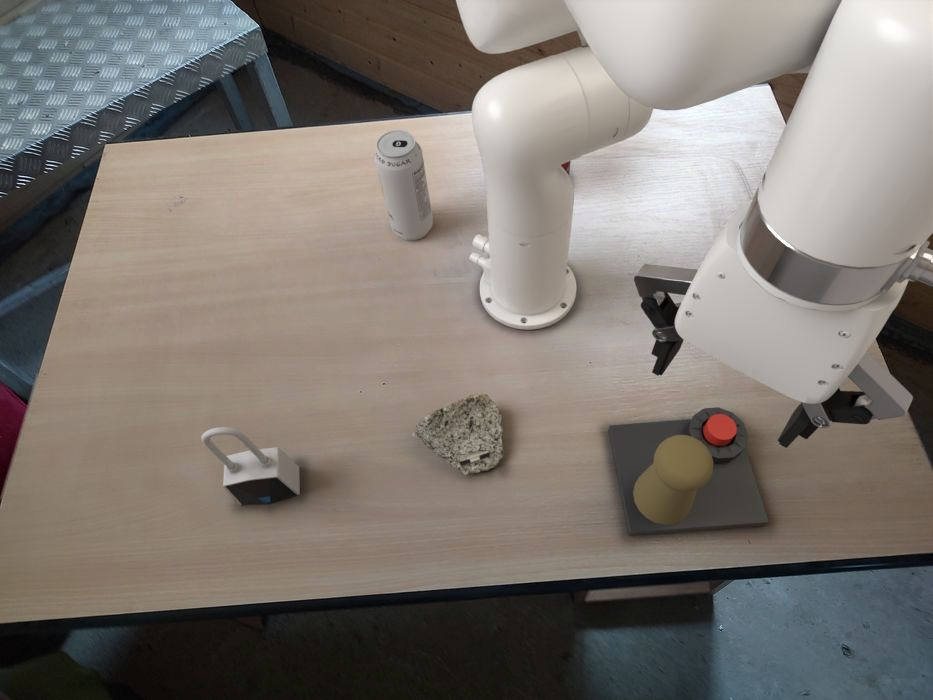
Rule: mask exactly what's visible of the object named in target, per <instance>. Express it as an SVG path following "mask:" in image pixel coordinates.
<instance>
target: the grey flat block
mask: <svg viewBox="0 0 933 700" xmlns="http://www.w3.org/2000/svg"><path fill="white" fill-rule="evenodd" d="M716 414H723V415H726V416H728V417H730V418H731V419H732V420H733V421H734V422H735V424H736V427H737V432H736V434H735V436H734V437H733V439H732V440H731V441H730V443H729V444H727V445H725V446H715V445H712V444H711V443H709V442H708V441H707V440H706V439H705V437H704V434H703V428H704V426H705V424H706V423H707V421H708V420H709V418H710V417H711V416H713V415H716ZM607 433H608V439H609V444H610V448H611V453H612V459H613V464H614V469H615V474H616V480H617V485H618V490H619V495H620V500H621V505H622V510H623V516H624V522H625V527H626V532H627V535H628V537H636V536H637V537H638V536H639V537H640V536H650V535H651V536H653V535H663V534H664V535H665V534H677V533H678V534H679V533H691V532H705V531H706V532H707V531H719V530H720V531H721V530H732V529H746V528H760V527H761V528H762V527H765V526H767V525H768V524H769V523H770V520H769V518H768V517H769V516H768V514H767V512H766V508H765V505H764V502H763V499H762V496H761V493H760V492H761V491H760V490H759V487H758V483H757V479H756V477H755V474H754V470H753V467H752V465H751V464H752V463H751V461H750V458H749V454H748V452H747V451H748V450H747V449H746V448H747V447H746V445H747V443H748V439H749V436H748V432H747V430H746V427H745V423H744V422H743V421H742V420H741V419H740V418H739V417H738V416H737V415H736V414H735V413H734V412H732V411H730V410H727V409H725V408H721V407H719V406H717V407H704V408H702V409H700V410H699V411H698V412H696V413H695V414H694V415H692V417H691V418H687V419H676V420H662V421H661V420H660V421H649V422H638V423H623V424H612V425H609V426H608V429H607ZM674 435H687V436H691V437H694V438H696V439H698V440H700V441H701V442H702V443H703V444H704V445H705V446H706V447H707V448H708V450H709V451H710V453H711V455H712V459H713V473H712V475H711V477H710V479H709V481H708V482H707V483H706V484H705V485H704V486H703V487H701V488H699V489H697V492H696V495H695V498H694V502H693V505H692V508H691V510H690V512H689V514H688V516H686V517H685V518H684V519H683V520H682V521H680V522H678V523H675V524H670V525H663V524H659V523H654V522H653V521H651V520H649V519H648V518H646V517H645V516H644V515H643V514H642V513H641V512H640V511H639V509H638V508H637V506H636V504H635V501H634V496H633V490H634V485H635V483H636V481H637V479H638V478H639V477H640V476H641V475H642V474H643V473H644V472H645V471H646V470H647V469H648V468H649V467H650V466H651V465H652V464H653V463H654V462H653V461H654V454H655V452H656V450H657V448H658V446H659V444H661V443H662V442H663V441H664V440H665V439H667V438H669V437H672V436H674Z"/></svg>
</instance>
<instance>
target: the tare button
mask: <svg viewBox="0 0 933 700" xmlns="http://www.w3.org/2000/svg"><path fill="white" fill-rule="evenodd" d="M736 432H737V427H736V424H735V422H734V421H733V420H732V419H731V418H730V417H728V416H726V415H723V414H716V415H713V416H711V417H710V418H709V420H708V421H707V423H706V424H705V426H704V428H703V434H704V437H705V439H706V440H707V441H708V442H709V443H711V444H712V445H715V446H725V445H727V444H729V443H730V441H731V440H732V439H733V437H734V436H735V434H736Z"/></svg>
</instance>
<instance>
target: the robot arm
mask: <svg viewBox="0 0 933 700" xmlns="http://www.w3.org/2000/svg"><path fill="white" fill-rule="evenodd" d="M455 3H456V6H457V10H458V13H459V17H460V20H461V22H462V25H463V28H464V31H465V33H466V36H467V37H468V40H469V41H470V43H471V44H472V45H473V47H474V48H475V49H476V50H477V51H479V52H481V53H485V54H488V55H492V54H493V55H494V54H495V55H496V54H505V53H510V52H514V51H517V50H520V49H521V50H522V49H524V48H528V47H531V46H534V45H537V44H540V43H543V42H546V41H549V40H552V39H556V38H558V37H561V36H565V35H567V34H571V33H574V32H576V33H577V35H578V38H579V39H580V40H579V41H580V44H581V46H577V47H575V48H572V49H569V50H566V51H562V52H560V53H557V54H551V55H548V56H546V57H543V58H540V59H537V60H534V61H531V62H528V63H524V64H522V65H519V66H515V67H513V68H511V69H508V70H506V71H503V72H502V73H500V74H498V75H495V76H494V77H493V78H491V79H490V80H488V81H487V82H486V83H485V84H483V85H482V87H481V88H480V89H479V90H478V91H477V92H476V95H475V97H474V99H473V102H472V105H471V123H472V128H473V129H472V130H473V133H474V138H475V141H476V145H477V148H478V152H479V157H480V161H481V166H482V170H483V176H484V184H485V197H486V198H485V199H486V211H487V212H486V213H487V214H486V215H487V231H488V232H487V233H488V237H486V236H484V235H483V234H480V233H478V234H476V235H475V236H474V238H473V240H472V244H471V246H472V247H473V248H475V249H476V250H478V251H480V252H482V253H485V254H487V255H489V257H488V258H486V257H485V256H483V255H482V254H480V253H478V252H477V251H472V252H471V254H470V255H469V258H468V260H469V262H471V263H473V264H475V265H476V266H479V267H480V268H481V269H482V271H483V273H482V275H481V277H480V282H479V296H480V301H481V304H482V306H483V307H484V310H485V311H486V312H487V314H489V316H491V318H492V319H494V320H495V321H497V322H499V324H502V325H504V326H507V327H509V328H513V329H518V330H524V331H525V330H527V331H528V330H529V331H532V330H539V329H543V328H547V327H550V326H552V325H554V324H556V323H558V322H559V321H561V320H562V319H563V318H565V317H566V316H567V314H569V312H570V311H571V309H572V308H573V306H574V304H575V301H576V297H577V291H578V289H577V280H576V277H575V273H574V272H573V270H572V269H571V268H570V267H569V265H568V262H569V250H570V245H571V244H570V242H571V233H572V223H573V215H574V206H575V205H574V204H575V189H574V184H573V181H572V178H571V177H570V174H569V175H568V174H567V172H566V171H565V170H564V169H563V167H562V166H561V165H562V164H564V163H566V162H569V161H571V162H572V161H574V160H576V159H579V158H581V157H582V156H585V155H588V154H590V153H594V152H597V151H598V150H602V149H604V148H607V147H610V146H613V145H615V144H618V143H620V142H623V141H625V140H628V139H630V138H633V137H634V136H636V135H637V134H639V133H640V132H641V131H642V130H644V128H646V126H647V125H648V124H649V121H650V120H651V117H652V116H653V115H652V114H653V111H654V110H660V111H680V110H681V111H682V110H686V109H690V108H693V107H696V106H701V105H703V104H706V103H710V102H712V101H715V100H718V99H721V98H723V97H726V96H728V95H729V96H730V95H731V94H734V93H736V92H737V93H738V92H740V91H743V90H745V89H747V88H751V87H753V86H756V85H759V84H761V83H765V82H767V81H770V80H772V79H773V80H774V79H775V78H778V77H781V76H783V75H787V74H807V76H806V79H805V81H804V83H803V85H802V88H801V90H800V92H799V95H798V97H797V99H796V101H795V104H794V106H793V108H792V110H791V113H790V115H789V117H788V120H787V122H786V124H785V126H784V128H783V131H782V133H781V135H780V138H779V140H778V142H777V144H776V146H775V149H774V151H773V154H772V156H771V158H770V160H769V163H768V165H767V167H766V169H765V172H764V174H763V175H762V178H761V180H760V182H759V184H758V187H757V189H756V191H755V194H754V196H753V198H751V199H747V200H746V201H744V202H743V203H741V204H740V205H739V206H738V207H737V208H736V210H734V211H733V213H732V214H731V215H730V217H729V218H728V219H727V220H726V222H725V224H724V225H723V227H722V228H721V230H720V231H719V233H718V234H717V236H716V238H715V239H714V241H713V243H712V244H711V246H710V248H709V249H708V251H707V252H706V255H705V256H704V258H703V260H702V261H701V263H700V265H699V266H698V269H696V268H695V269H694V268H686V267H677V266H667V265H657V264H648V263H646V264H645V263H644V264H643V265H642V266H641V268H640V269H639V270H638V272H637V273H636V274H635V275H634V277H633V281H634V285H635V287H636V290H637V294H638V296H639V297H641V300H642V301H641V302H640V308H641V310H642V311H643V312H644V314H645V315H646V317H647V318H648V320H649V322H650V323H651V324H652V326H653V327H654V329H652V332H651V335H652V336H653V338H654V339H655V341H654V345H653V347H652V350H651V352H650V353H651V355H652V356H654V357H656V360H655V363H654V365H653V368H652V371H651V373H652V374H654V375H655V376H657V377H658V376H661V377H662V376H663V374H664V373H665V372H666V370H667V369H668V367H669V366H670V364H671V363H672V361H674V359H675V357H676V356H677V354H678V353H679V351H680V350H681V348H682V345H683V343H684V342H686V343H687V344H689V345H690V346H692V347H693V348H695V349H697V350H699V351H701V352H702V353H704V354H706V355H708V356H710V357H711V358H713V359H715V360H716V361H718V362H720V363H723V364H724V365H725V366H727V367H730V368H732V369H734V370H736V371H737V372H739V373H741V374H743V375H745V376H747V377H749V378H751V379H753V380H754V381H756V382H758V383H761V385H763V386H766V387H767V388H770V389H771V390H774V391H775V392H778V394H779V393H780V394H781V395H784V396H786V397H788V398H790V399H792V400H795V401H797V402H799V404H798V405H797V407H796V408H795V409H794V411H793V412H792V413H791V416H790V417H789V419H788V420H787V423H786V424H785V426H784V428H783V429H782V432H781V433H780V435H779V437H778V439H777V442H779V443H778V445H780V446H782V447H783V448H785V449H787V448H788V447H789V446H790V445H792V443H793V442H794V441H795V440H796V439H797V437H801V438H803V439H805V440H808V439H809V438H810V437H811V436H812V435H813V434H814V433H816V431H817V430H818V429H819V428H820V429H828V428H830V427H831V425H832V424H833V423H839V424H852V425H868V424H870V423H871V421H873V420H878V421H882V420H889V419H894V418H901V417H905V416H906V414H907V412H908V410H909V408H910V406H911V404H912V401H913V400H914V396H913V395H912V394H911V392H909V390H908V389H906V387H905V386H904V385H902V384H901V382H900V381H898V379H896V378H895V377H894V376H893V375H892V374H891V372H889V371H888V370H887V369H886V368H885V366H883V365H882V364H881V362H879V361H878V360H877V358H875V357H874V356H873V355H872V354H871V353H870V352H869V349H870V348H871V346H872V345H873V343H874V342H875V340H876V339H877V337H878V336H879V334H880V332H881V331H882V330H883V328H884V326H885V325H886V324H887V321H888V320H889V319H890V316H891V315H892V313H893V311H894V310H895V309H896V308H897V306H898V305H899V303H900V301H901V299H902V297H903V295H904V293H905V290H906V289H907V286H908V283H909V281H910V282H912V283H915V282H916V281H917V282H919V283H923V284H924V285H927V286H929V287H931V288H933V249H931V248H928V247H929V246H930V244H931V241H929V240H928V239H929V238H930V237H931V236H932V234H933V0H455ZM670 294H674V295H680V296H681V295H682V296H684V297H683V299H682V301H681V302H676V303H675V302H674V300H673V298H671V296H670ZM847 378H848V379H849V380H851V382H852V383H854V385H855V386H857V388H859V389H860V390H861V391H858V390H846V388H845V386H844V383H845V381H846V380H847Z"/></svg>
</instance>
